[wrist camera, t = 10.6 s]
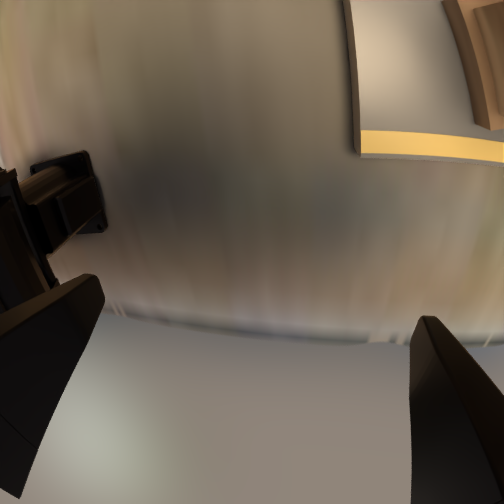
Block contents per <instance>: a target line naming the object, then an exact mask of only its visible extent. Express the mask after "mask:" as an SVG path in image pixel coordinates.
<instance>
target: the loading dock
mask: <svg viewBox="0 0 504 504" xmlns="http://www.w3.org/2000/svg"><path fill="white" fill-rule="evenodd" d="M441 1H443V0H343V7H344V14H345V22H346V30H347V40H348V50H349V61H350V73H351V88H352V106H353V133H354V149H355V150H356V152H357V153H358V155H359V156H360V158H382V159H412V160H431V161H446V162H459V163H470V164H481V165H490V166H499V167H504V129H498V130H492V131H490V130H488V129H486V128H483V127H481V126H478V125H476V124H475V122H474V116H473V111H472V105H471V100H470V95H469V91H468V86H467V82H466V78H465V74H464V70H463V66H462V62H461V59H460V55H459V52H458V48H457V45H456V42H455V38H454V35H453V32H452V29H451V26H450V24H449V21H448V18H447V15H446V13H445V10H444V7H443V5H442V2H441Z"/></svg>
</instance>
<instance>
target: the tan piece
mask: <svg viewBox="0 0 504 504" xmlns="http://www.w3.org/2000/svg"><path fill="white" fill-rule="evenodd" d="M441 2H442V5H443V7H444V10H445V13H446V15H447V18H448V21H449V24H450V26H451V29H452V32H453V35H454V38H455V42H456V45H457V48H458V52H459V55H460V59H461V62H462V66H463V70H464V74H465V78H466V82H467V86H468V91H469V95H470V100H471V105H472V111H473V116H474V122H475V124H476V125H478V126H481V127H483V128H486V129H488V130H490V131H492V130H498V129H504V0H443V1H441Z"/></svg>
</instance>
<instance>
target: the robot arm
mask: <svg viewBox="0 0 504 504" xmlns="http://www.w3.org/2000/svg"><path fill="white" fill-rule="evenodd" d="M81 156H82V157H83V160H82V159H81ZM35 170H36V171H35ZM30 172H31V177H29V178H27V179H25V180H24V181H22V182H20V183H19V184H18V180H17V177H16V176H17V172H16V169H15V168H14V169H11V170H8V171H6V169H5V170H4V169H2V168H1V167H0V488H1V489H3V490H4V491H6V492H8V493H9V494H11V495H13V496H14V497H16V498H18V499H20V497H21V495H22V492H23V489H24V486H25V484H26V481H27V478H28V475H29V472H30V470H31V467H32V464H33V462H34V459H35V457H36V454H37V452H38V449H39V446H40V444H41V441H42V439H43V436H44V434H45V432H46V429H47V427H48V425H49V422H50V420H51V418H52V416H53V413H54V411H55V409H56V407H57V404H58V402H59V400H60V398H61V396H62V394H63V392H64V390H65V387H66V385H67V383H68V381H69V379H70V377H71V375H72V373H73V371H74V369H75V367H76V365H77V363H78V361H79V359H80V357H81V355H82V353H83V352H84V350H85V347H86V345H87V343H88V341H89V339H90V336H91V334H92V332H93V329H94V327H95V324H96V322H97V320H98V317H99V315H100V313H101V311H102V308H103V306H104V304H105V295H104V293H103V290H102V287H101V284H100V281H99V279H98V277H97V276H96V275H92V274H83V275H81V276H78V277H76V278H74V279H72V280H70V281H68V282H66V283H63V284H61V285H60V283H59V281H58V279H57V278H55V276H54V273H53V271H52V269H51V267H50V265H49V262H48V260H47V259H48V258H50V257H51V256H52V255H53V254H54V253H55V252H56V251H57V250H58V249H59V248H60V247H61V246H62V245H64V244H65V243H66V242H67V241H68V240H69V239H70V238H71V237H72V236H74V235H75V234H87V233H102V232H104V231H105V230H106V229H107V222H106V219H105V216H104V212H103V209H102V205H101V202H100V198H99V195H98V191H97V188H96V184H95V180H94V176H93V173H92V169H91V165H90V161H89V156H88V154H87V153H86V152H85V151H79V152H75V153H71V154H67V155H64V156H60V157H56V158H53V159H49V160H46V161H43V162H39V163H36V164H34V165H32V166H31V167H30ZM100 225H101V226H102V227H101V226H100ZM409 385H410V386H409V403H410V404H409V405H410V421H411V448H412V449H411V450H412V480H411V504H504V395H503V394H502V393H501V391H500V390H499V389H498V388H497V386H496V385H495V384H494V383H493V381H492V380H491V379H490V378H489V376H488V375H487V374H486V373H485V372H484V370H483V369H482V368H481V367H480V365H479V364H478V363H477V362H476V361H475V360H474V359H473V357H472V356H471V355H470V354H469V353H468V351H467V350H466V349H465V348H464V347H463V346H462V344H461V343H460V342H459V341H458V340H457V339H456V338H455V337H454V335H453V334H452V333H451V332H450V331H449V330H448V329H447V328H446V327H445V325H444V324H443V323H442V322H441V321H440V320H439V319H438V318H437V317H435V316H425V315H423V316H421V317H420V318H419V320H418V323H417V325H416V328H415V330H414V333H413V335H412V337H411V341H410V384H409Z"/></svg>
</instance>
